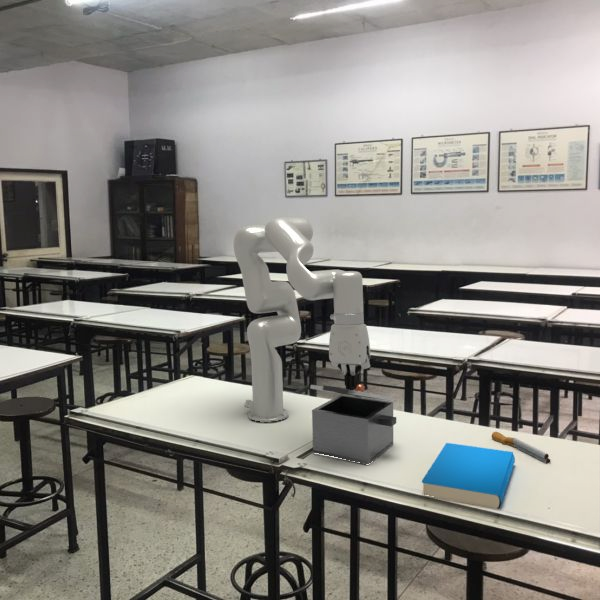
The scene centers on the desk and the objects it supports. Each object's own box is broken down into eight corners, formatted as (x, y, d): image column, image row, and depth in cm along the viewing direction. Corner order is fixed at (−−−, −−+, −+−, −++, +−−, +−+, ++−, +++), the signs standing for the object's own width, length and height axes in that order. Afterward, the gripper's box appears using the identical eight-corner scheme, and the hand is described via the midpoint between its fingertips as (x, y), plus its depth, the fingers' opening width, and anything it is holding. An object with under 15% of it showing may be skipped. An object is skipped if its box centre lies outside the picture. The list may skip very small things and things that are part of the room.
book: (421, 480, 135) (445, 441, 158) (421, 499, 136) (445, 457, 158) (502, 493, 128) (515, 450, 150) (502, 513, 129) (514, 467, 151)
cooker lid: (302, 387, 156) (304, 375, 156) (339, 393, 173) (340, 382, 173) (362, 395, 147) (363, 383, 147) (394, 401, 164) (395, 390, 165)
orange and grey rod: (489, 434, 168) (498, 428, 169) (493, 442, 169) (501, 436, 170) (538, 459, 151) (547, 452, 151) (542, 468, 151) (551, 462, 152)
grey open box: (313, 454, 161) (312, 410, 160) (341, 435, 175) (340, 394, 173) (381, 468, 151) (381, 421, 149) (405, 447, 164) (405, 403, 163)
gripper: (316, 320, 158) (319, 389, 160) (369, 322, 150) (371, 395, 152) (330, 316, 164) (333, 383, 166) (381, 318, 156) (383, 388, 158)
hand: (351, 389), depth 159 cm, fingers closed
